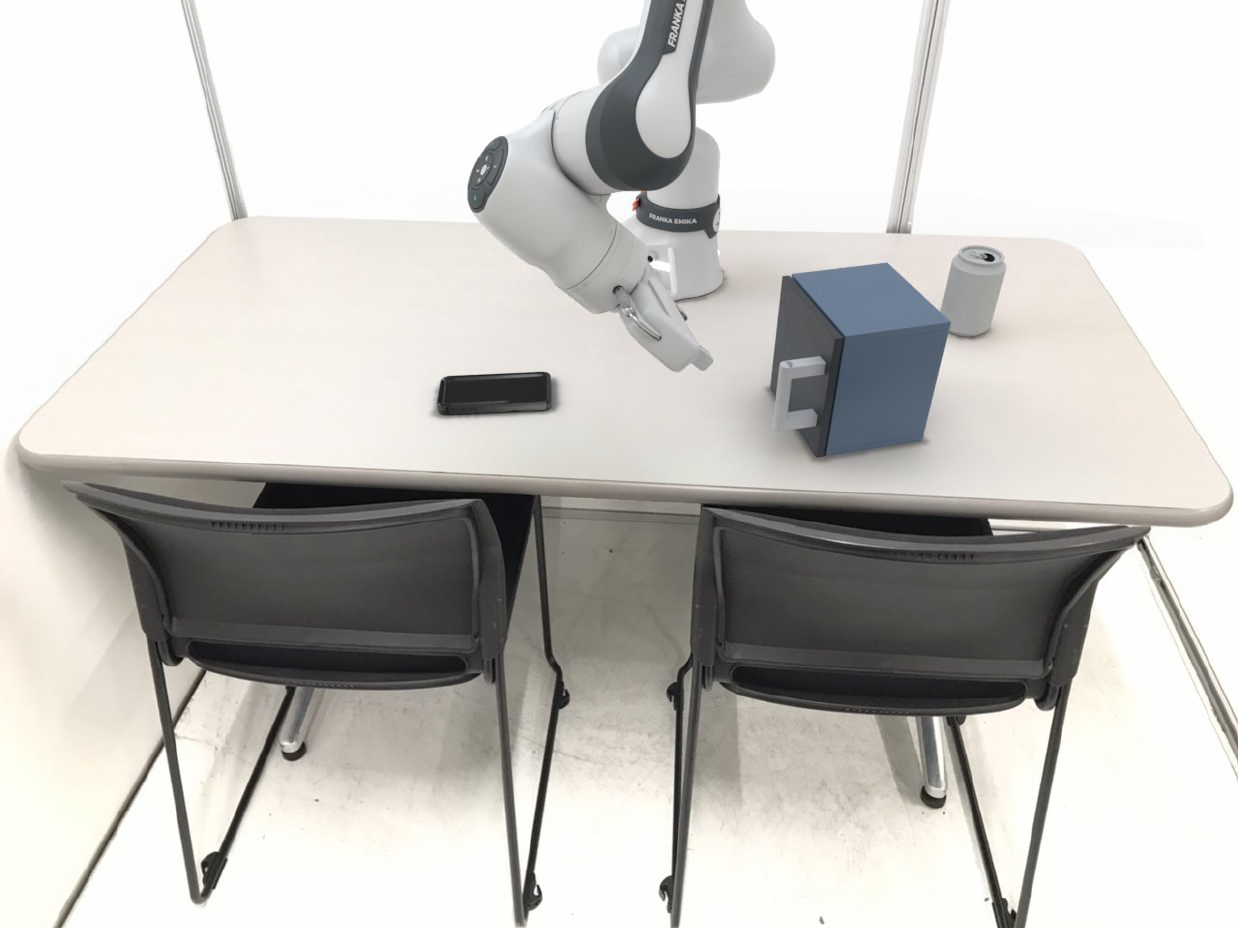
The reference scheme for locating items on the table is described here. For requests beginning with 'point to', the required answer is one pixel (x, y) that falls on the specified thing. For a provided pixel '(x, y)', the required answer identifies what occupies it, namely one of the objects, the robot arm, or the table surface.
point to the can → (973, 289)
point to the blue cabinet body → (878, 355)
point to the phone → (494, 393)
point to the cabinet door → (804, 367)
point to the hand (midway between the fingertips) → (694, 341)
